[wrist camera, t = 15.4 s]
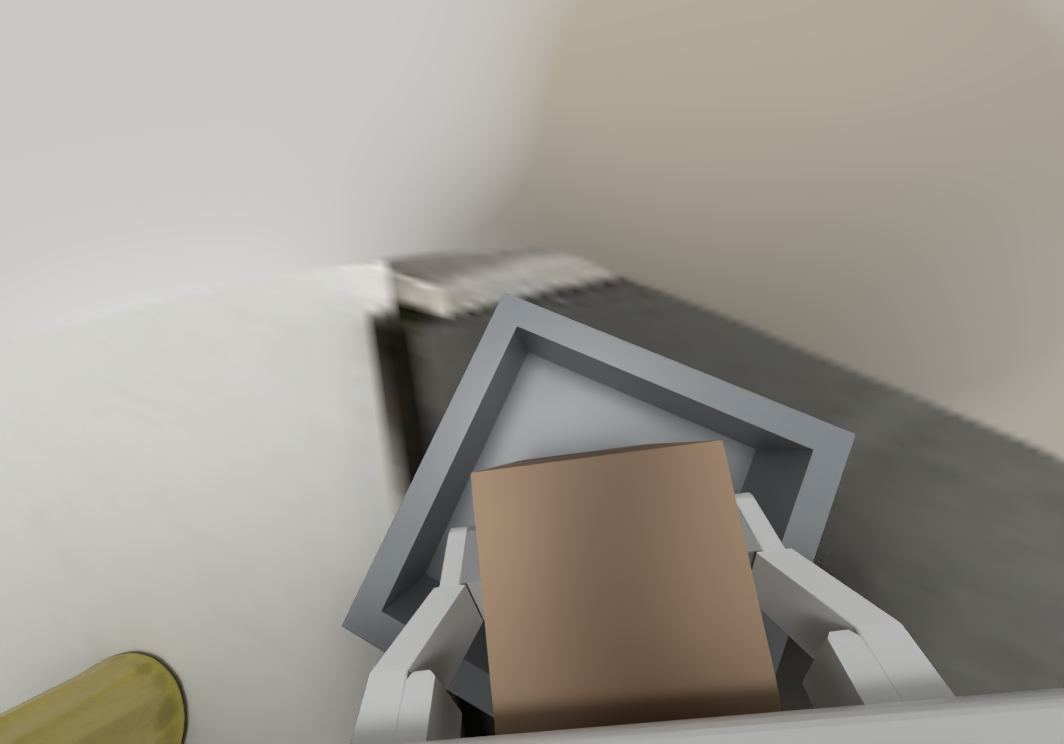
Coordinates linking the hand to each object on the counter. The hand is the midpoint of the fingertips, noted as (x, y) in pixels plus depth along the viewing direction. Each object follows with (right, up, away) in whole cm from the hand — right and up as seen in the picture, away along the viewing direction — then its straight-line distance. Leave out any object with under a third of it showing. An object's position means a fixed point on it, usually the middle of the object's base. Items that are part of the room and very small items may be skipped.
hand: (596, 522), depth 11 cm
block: (+1, -1, +4) cm, 4 cm away
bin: (+1, -2, +7) cm, 7 cm away
